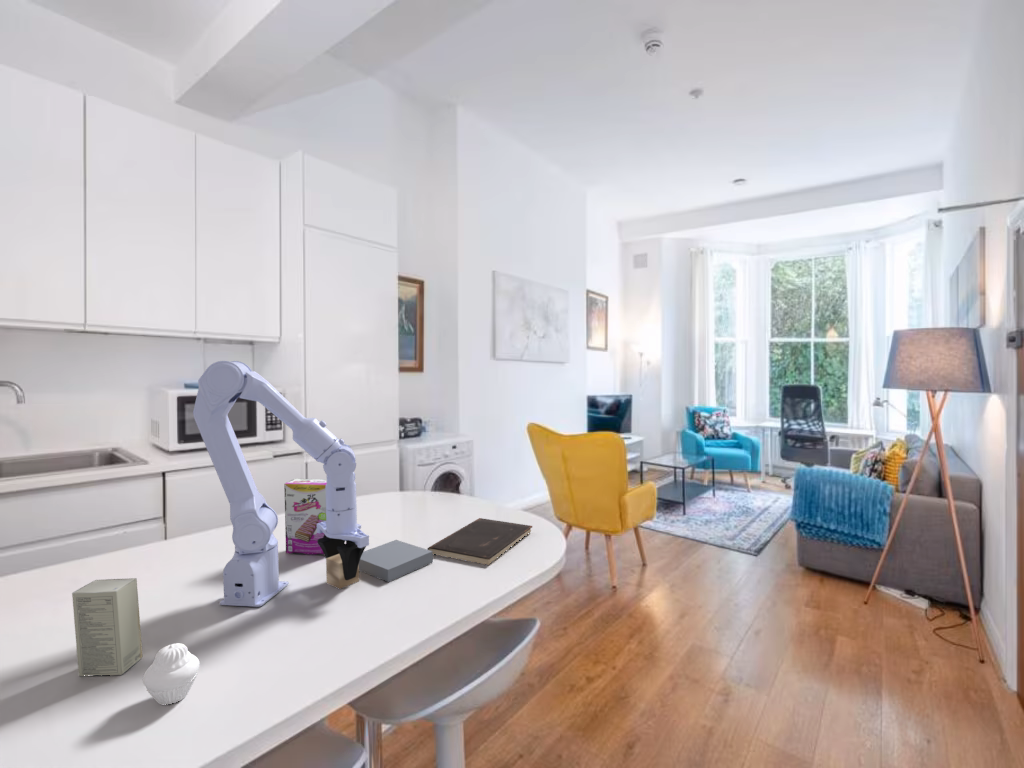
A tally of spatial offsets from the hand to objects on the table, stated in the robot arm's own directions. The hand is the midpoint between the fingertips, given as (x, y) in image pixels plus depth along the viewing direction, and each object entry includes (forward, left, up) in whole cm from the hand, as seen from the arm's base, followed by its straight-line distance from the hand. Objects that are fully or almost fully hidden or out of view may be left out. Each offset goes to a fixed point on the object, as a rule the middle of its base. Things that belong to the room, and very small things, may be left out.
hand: (342, 575), depth 99 cm
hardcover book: (+24, -24, -2) cm, 34 cm away
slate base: (+9, -7, -1) cm, 11 cm away
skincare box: (-30, +21, -2) cm, 37 cm away
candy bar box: (+15, +14, -2) cm, 21 cm away
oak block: (0, 0, -1) cm, 1 cm away
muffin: (-35, +7, -2) cm, 36 cm away
